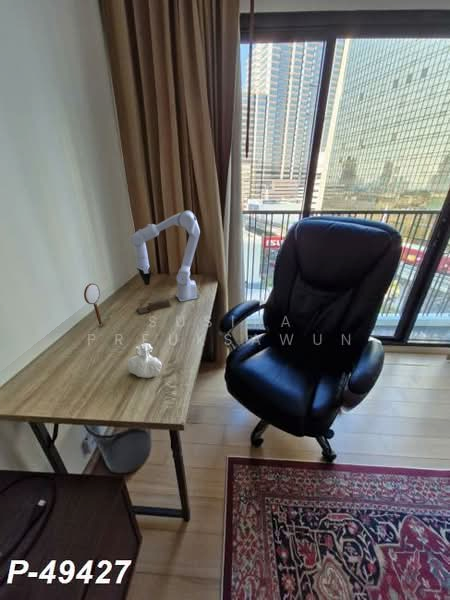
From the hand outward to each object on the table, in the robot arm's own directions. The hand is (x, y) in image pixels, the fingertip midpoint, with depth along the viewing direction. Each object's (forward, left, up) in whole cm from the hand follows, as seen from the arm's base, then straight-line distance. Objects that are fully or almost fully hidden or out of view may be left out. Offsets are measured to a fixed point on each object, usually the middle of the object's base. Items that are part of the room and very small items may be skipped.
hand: (145, 282), depth 130 cm
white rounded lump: (+11, +56, -10) cm, 58 cm away
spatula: (-1, +13, -9) cm, 16 cm away
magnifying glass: (+24, +18, -10) cm, 31 cm away
